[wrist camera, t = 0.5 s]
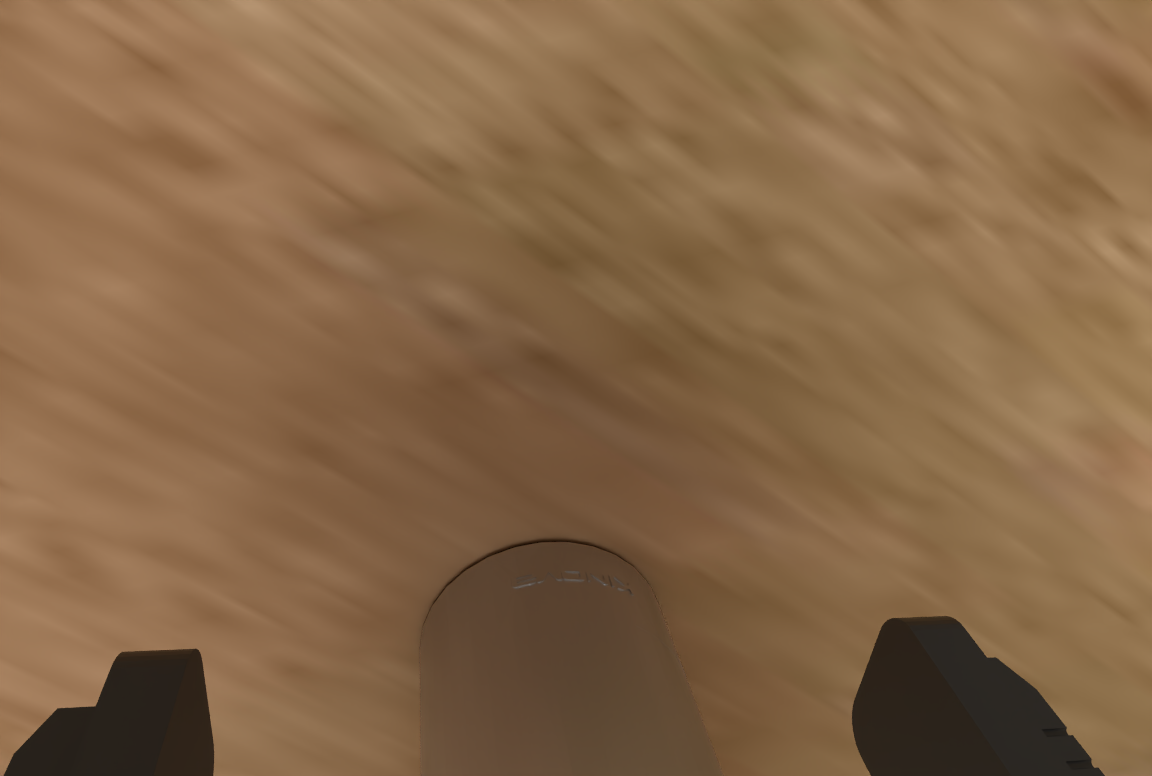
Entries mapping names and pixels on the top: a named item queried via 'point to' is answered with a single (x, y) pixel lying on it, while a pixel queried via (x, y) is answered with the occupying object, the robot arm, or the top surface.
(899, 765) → the robot arm
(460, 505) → the top surface
